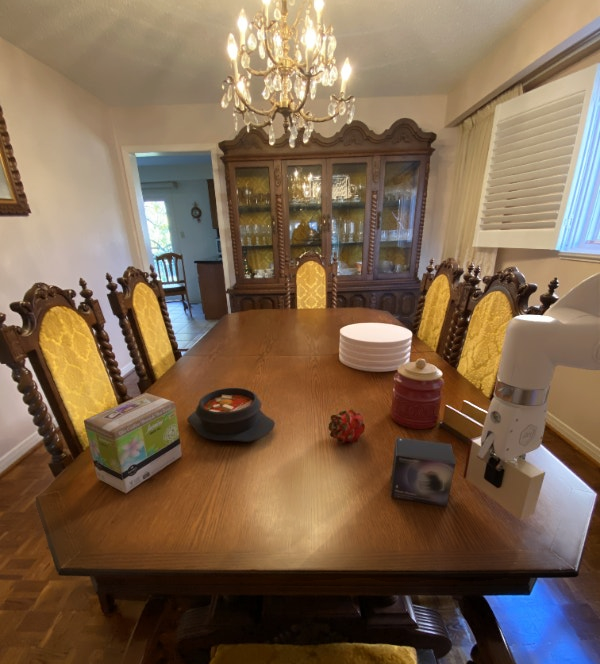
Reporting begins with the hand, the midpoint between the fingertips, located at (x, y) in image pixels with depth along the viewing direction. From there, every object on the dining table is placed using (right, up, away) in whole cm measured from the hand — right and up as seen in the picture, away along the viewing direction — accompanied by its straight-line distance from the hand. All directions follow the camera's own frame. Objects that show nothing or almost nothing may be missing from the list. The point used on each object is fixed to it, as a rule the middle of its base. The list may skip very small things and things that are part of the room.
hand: (500, 479), depth 64 cm
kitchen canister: (-5, +6, +33) cm, 34 cm away
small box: (-14, -5, +5) cm, 15 cm away
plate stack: (-7, +24, +77) cm, 81 cm away
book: (0, -3, +1) cm, 4 cm away
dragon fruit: (-25, +3, +24) cm, 35 cm away
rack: (+7, +3, +24) cm, 25 cm away
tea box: (-73, -2, +14) cm, 74 cm away
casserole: (-56, +4, +29) cm, 63 cm away
